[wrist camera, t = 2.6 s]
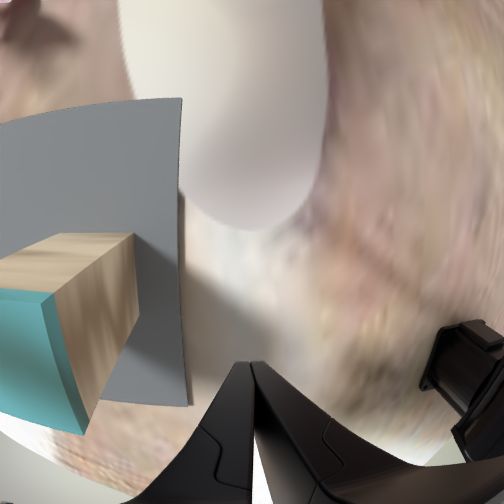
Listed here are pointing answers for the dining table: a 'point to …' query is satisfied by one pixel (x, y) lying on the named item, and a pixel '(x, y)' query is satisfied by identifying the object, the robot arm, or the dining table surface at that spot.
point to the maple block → (64, 325)
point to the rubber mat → (108, 217)
